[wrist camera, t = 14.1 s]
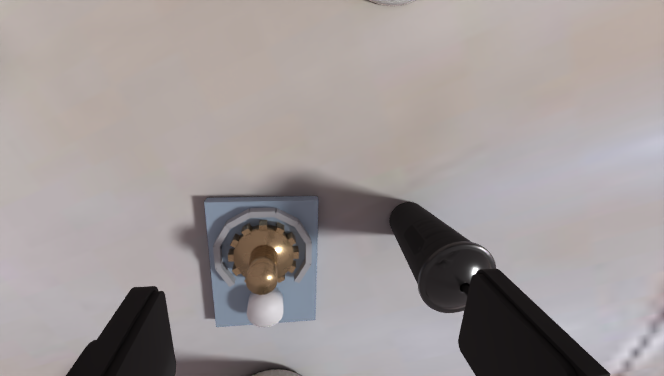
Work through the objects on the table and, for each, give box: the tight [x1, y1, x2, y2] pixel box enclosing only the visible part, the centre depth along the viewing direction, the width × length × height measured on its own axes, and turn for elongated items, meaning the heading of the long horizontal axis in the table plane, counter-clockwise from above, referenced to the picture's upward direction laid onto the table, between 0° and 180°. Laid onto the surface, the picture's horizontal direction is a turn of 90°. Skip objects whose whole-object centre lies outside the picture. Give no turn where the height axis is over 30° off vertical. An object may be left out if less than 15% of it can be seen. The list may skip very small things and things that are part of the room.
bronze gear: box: [228, 220, 299, 295], centre depth 38 cm, size 8×8×6 cm
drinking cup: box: [390, 202, 496, 313], centre depth 35 cm, size 8×8×20 cm
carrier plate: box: [204, 196, 318, 327], centre depth 41 cm, size 18×13×4 cm
